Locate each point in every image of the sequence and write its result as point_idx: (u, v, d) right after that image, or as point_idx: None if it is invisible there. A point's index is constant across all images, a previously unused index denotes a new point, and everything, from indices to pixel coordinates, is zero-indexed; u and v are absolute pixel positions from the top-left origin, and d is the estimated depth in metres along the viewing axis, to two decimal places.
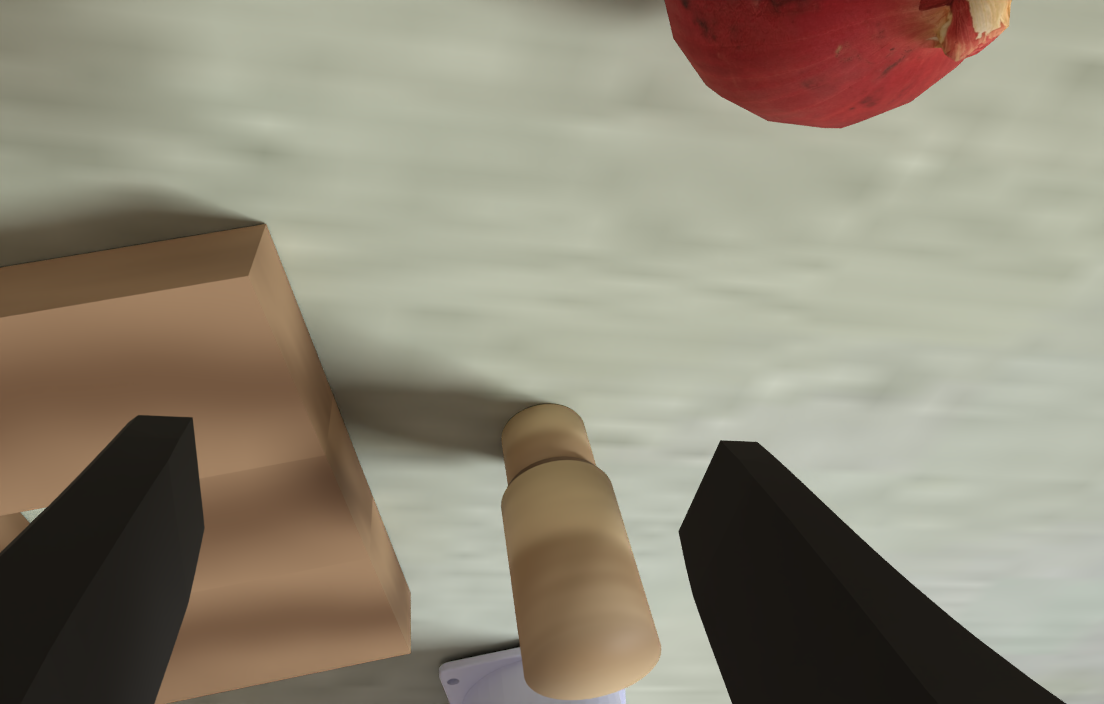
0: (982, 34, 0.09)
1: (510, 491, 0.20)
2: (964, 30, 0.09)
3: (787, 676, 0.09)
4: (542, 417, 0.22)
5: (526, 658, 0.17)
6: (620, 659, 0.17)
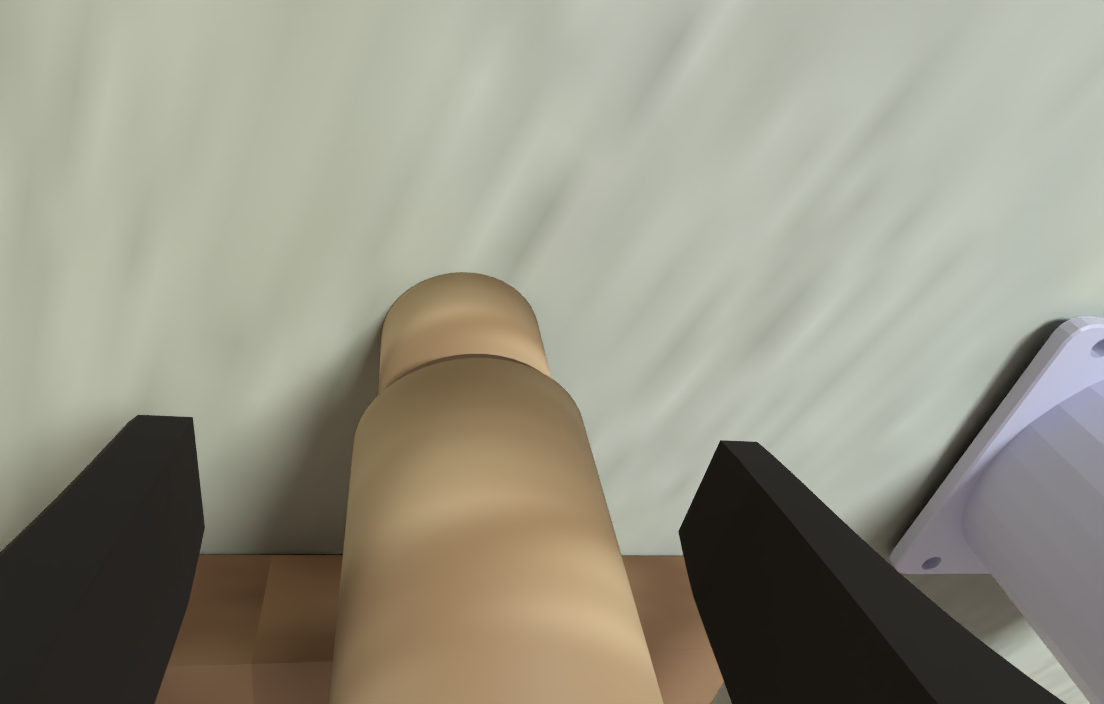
0: None
1: None
2: None
3: (787, 676, 0.09)
4: (380, 353, 0.12)
5: None
6: None
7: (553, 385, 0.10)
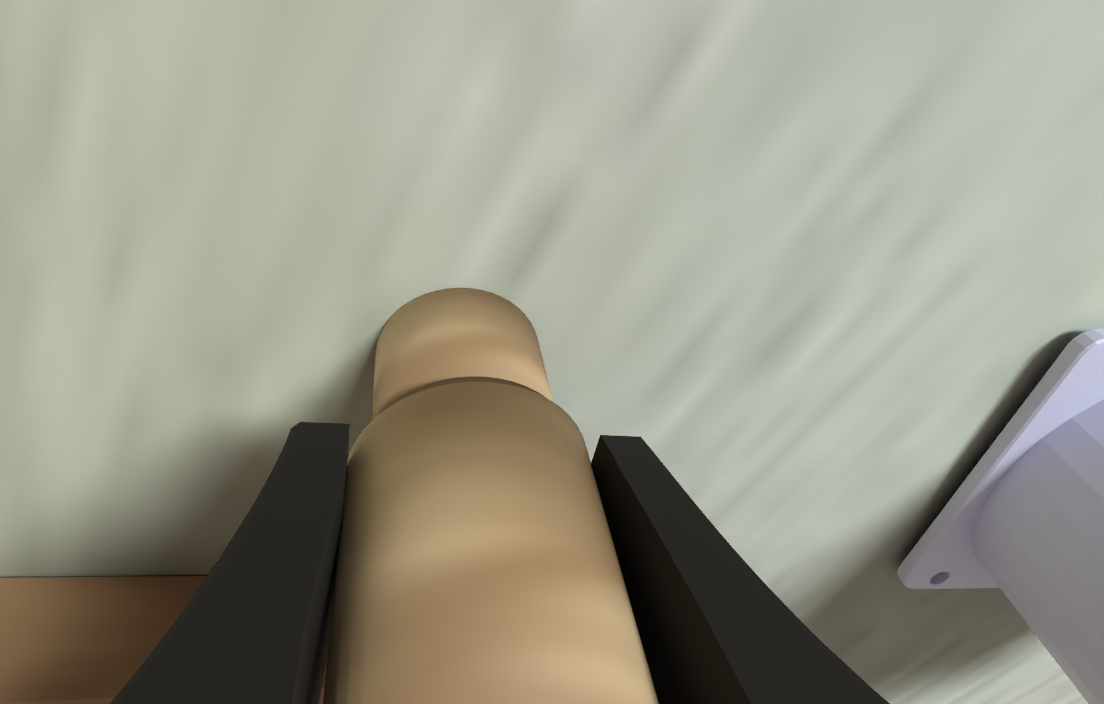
0: None
1: None
2: None
3: None
4: (374, 372, 0.11)
5: None
6: None
7: (554, 409, 0.09)
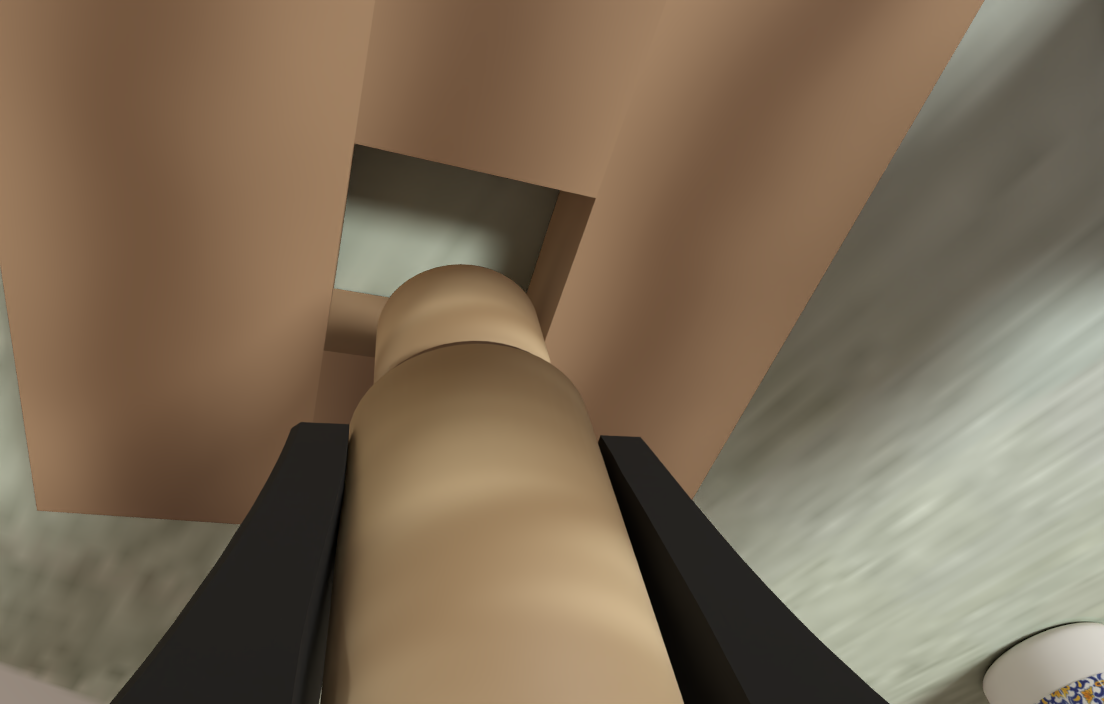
0: None
1: None
2: None
3: None
4: (376, 347, 0.11)
5: None
6: None
7: (557, 374, 0.09)
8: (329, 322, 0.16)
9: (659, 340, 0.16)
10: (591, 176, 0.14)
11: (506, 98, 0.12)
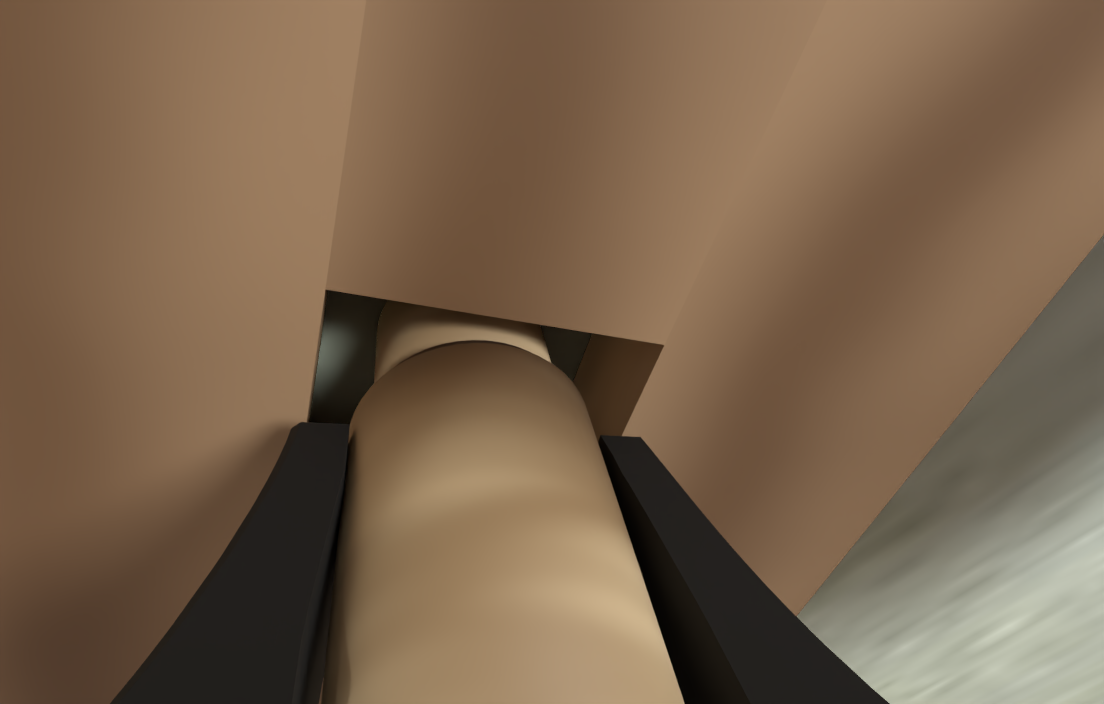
0: None
1: None
2: None
3: None
4: (376, 347, 0.11)
5: None
6: None
7: (558, 373, 0.09)
8: None
9: (734, 503, 0.12)
10: (660, 318, 0.10)
11: (547, 224, 0.09)
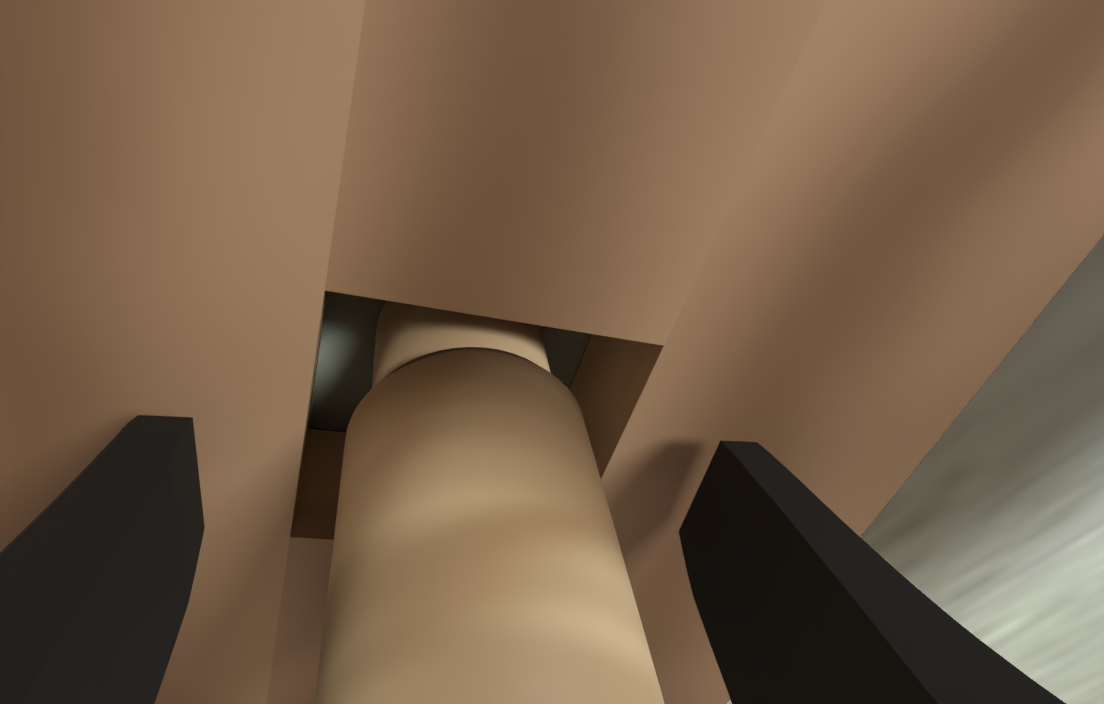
0: None
1: None
2: None
3: (787, 676, 0.09)
4: None
5: None
6: None
7: (553, 381, 0.09)
8: (300, 486, 0.12)
9: None
10: (659, 319, 0.10)
11: (546, 225, 0.09)
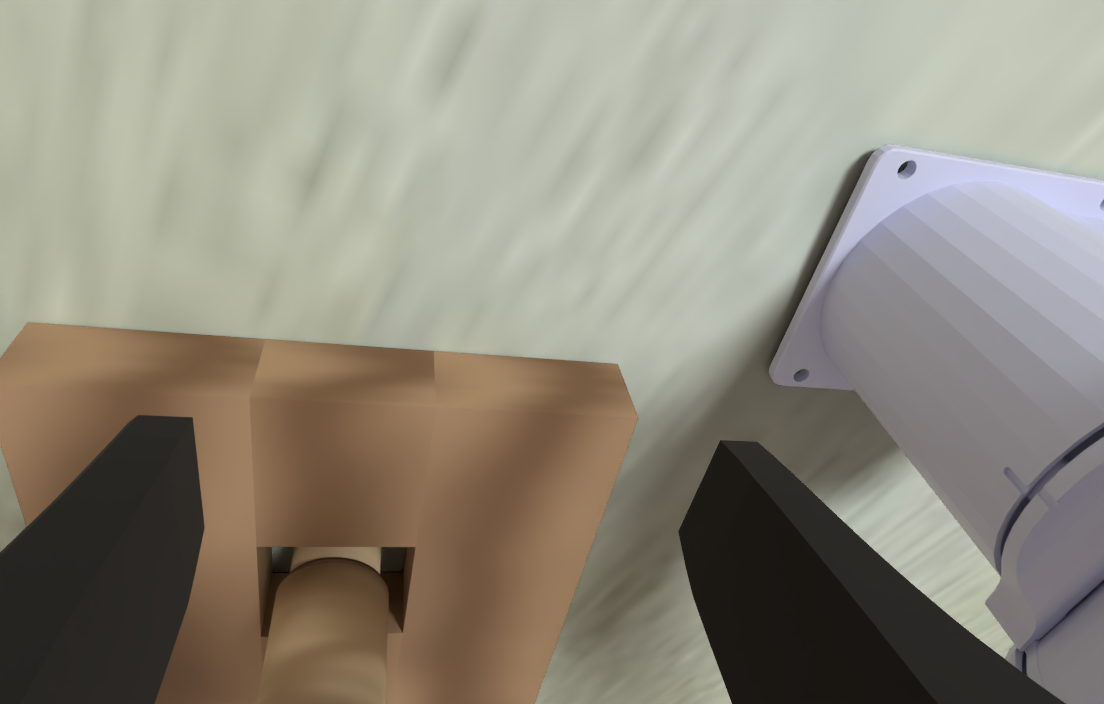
0: None
1: None
2: None
3: (787, 676, 0.09)
4: None
5: None
6: None
7: (362, 570, 0.21)
8: (266, 608, 0.24)
9: (485, 603, 0.24)
10: (409, 538, 0.22)
11: (344, 515, 0.21)
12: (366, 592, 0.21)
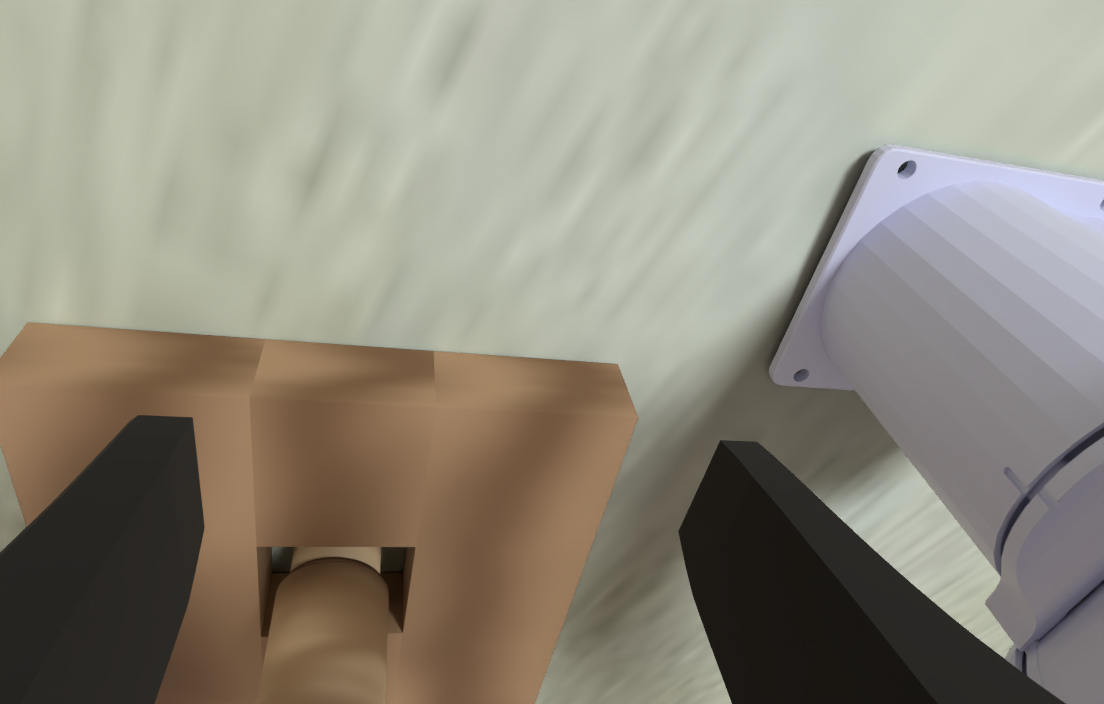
0: None
1: None
2: None
3: (787, 676, 0.09)
4: None
5: None
6: None
7: (362, 570, 0.21)
8: (266, 608, 0.24)
9: (485, 603, 0.24)
10: (409, 538, 0.22)
11: (344, 515, 0.21)
12: (366, 592, 0.21)
